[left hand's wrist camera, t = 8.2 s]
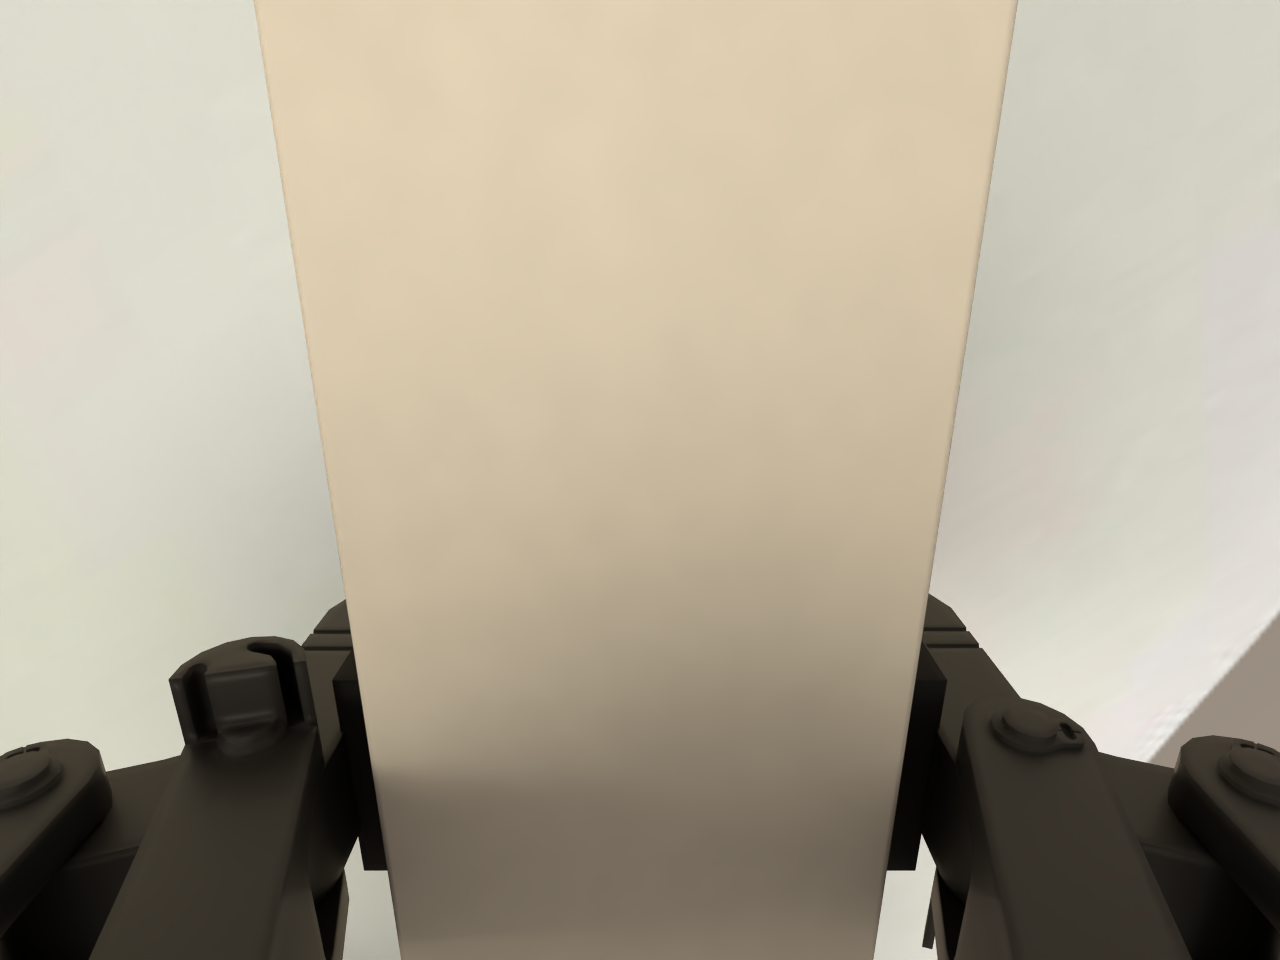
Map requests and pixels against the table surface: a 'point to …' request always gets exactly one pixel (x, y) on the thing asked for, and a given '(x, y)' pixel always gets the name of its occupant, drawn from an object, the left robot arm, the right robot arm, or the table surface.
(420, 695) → the bar
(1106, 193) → the table surface
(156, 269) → the table surface
